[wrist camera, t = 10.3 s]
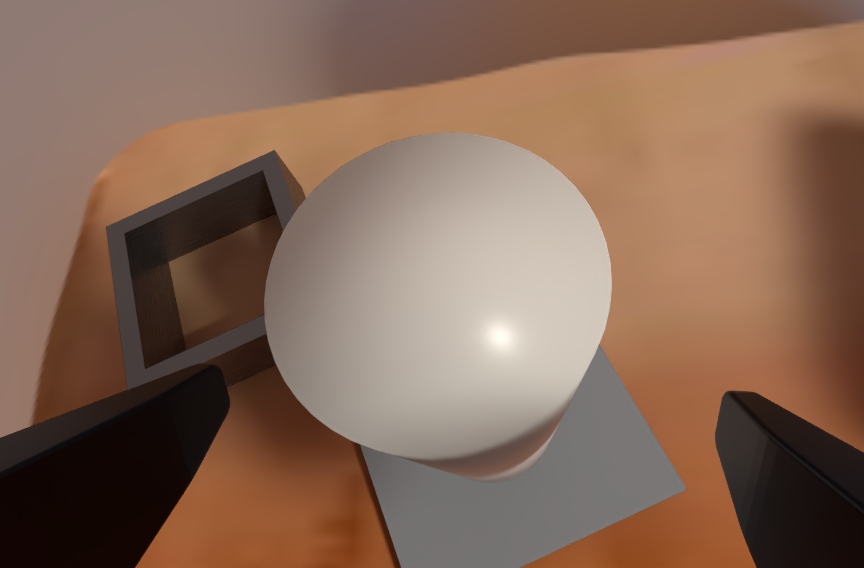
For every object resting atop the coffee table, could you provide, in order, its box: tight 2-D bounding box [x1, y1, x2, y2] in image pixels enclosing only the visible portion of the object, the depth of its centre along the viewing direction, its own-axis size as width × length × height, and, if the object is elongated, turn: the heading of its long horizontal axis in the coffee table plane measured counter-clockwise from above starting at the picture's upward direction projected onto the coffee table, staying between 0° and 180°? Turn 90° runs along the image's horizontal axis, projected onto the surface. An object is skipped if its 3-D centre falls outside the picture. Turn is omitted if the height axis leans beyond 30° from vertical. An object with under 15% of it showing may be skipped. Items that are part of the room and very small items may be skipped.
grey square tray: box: [106, 150, 306, 390], centre depth 22 cm, size 8×8×3 cm
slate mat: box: [360, 345, 686, 568], centre depth 19 cm, size 10×10×1 cm
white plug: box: [264, 133, 612, 483], centre depth 13 cm, size 5×5×13 cm
